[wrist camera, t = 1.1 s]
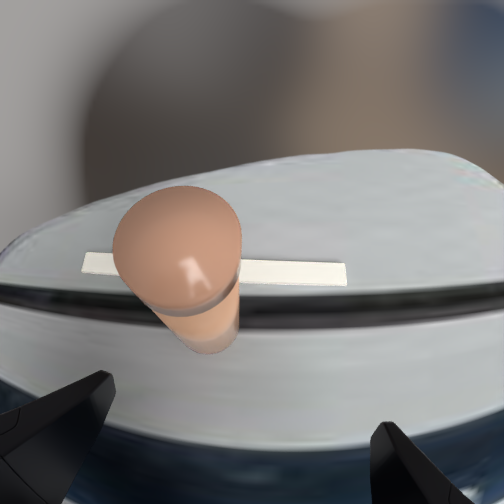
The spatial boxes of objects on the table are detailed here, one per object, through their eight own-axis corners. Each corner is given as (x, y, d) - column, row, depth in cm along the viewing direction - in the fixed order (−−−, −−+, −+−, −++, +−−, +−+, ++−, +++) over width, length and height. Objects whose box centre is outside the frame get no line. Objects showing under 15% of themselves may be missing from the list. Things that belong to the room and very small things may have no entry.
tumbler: (183, 362, 21) (118, 314, 9) (170, 301, 23) (111, 202, 12) (248, 345, 22) (258, 280, 10) (230, 286, 24) (223, 175, 13)
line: (83, 272, 24) (81, 271, 23) (88, 254, 25) (86, 252, 24) (345, 285, 24) (347, 284, 24) (343, 265, 25) (344, 263, 25)
